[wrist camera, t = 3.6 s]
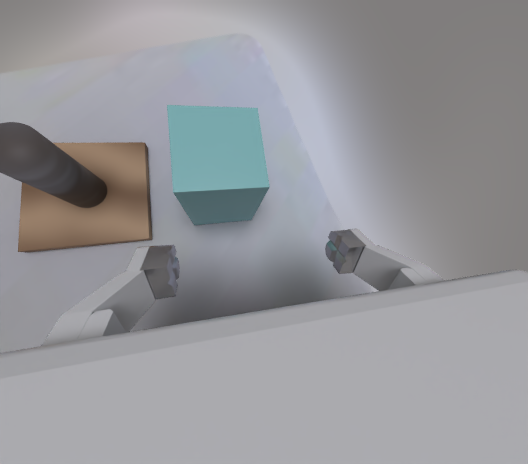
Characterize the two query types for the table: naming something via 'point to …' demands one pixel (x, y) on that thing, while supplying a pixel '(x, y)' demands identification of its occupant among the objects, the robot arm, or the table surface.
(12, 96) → the table surface
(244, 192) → the teal rectangular block
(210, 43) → the table surface
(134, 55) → the table surface
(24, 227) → the tan square base plate
